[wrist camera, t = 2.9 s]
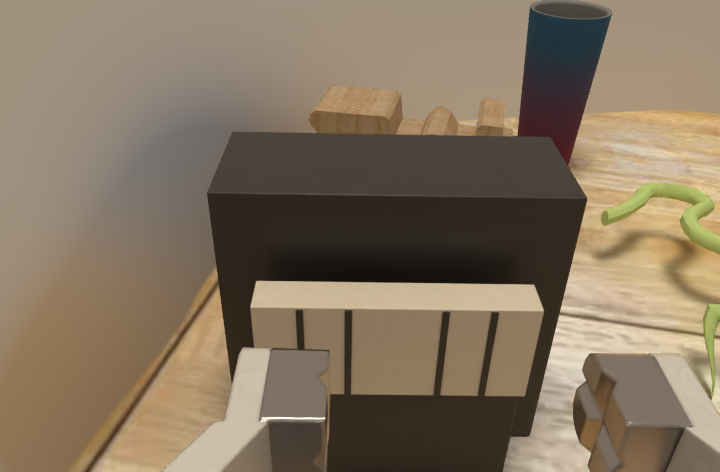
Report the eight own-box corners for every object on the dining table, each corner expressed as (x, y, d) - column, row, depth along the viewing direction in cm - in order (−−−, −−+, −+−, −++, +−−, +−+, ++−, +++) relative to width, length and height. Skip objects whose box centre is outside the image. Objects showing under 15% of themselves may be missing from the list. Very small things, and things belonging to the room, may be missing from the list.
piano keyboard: (525, 398, 29) (545, 312, 26) (258, 394, 28) (249, 308, 26) (516, 368, 30) (534, 284, 27) (263, 365, 30) (255, 280, 27)
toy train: (517, 247, 50) (539, 130, 45) (311, 220, 53) (308, 107, 48) (518, 212, 55) (538, 102, 50) (328, 189, 58) (327, 83, 53)
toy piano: (540, 475, 33) (607, 230, 25) (230, 472, 33) (193, 224, 24) (507, 355, 40) (550, 136, 32) (253, 352, 40) (231, 131, 32)
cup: (516, 145, 67) (540, -4, 58) (582, 160, 64) (618, 5, 56) (497, 172, 61) (521, 12, 53) (568, 188, 59) (604, 23, 51)
